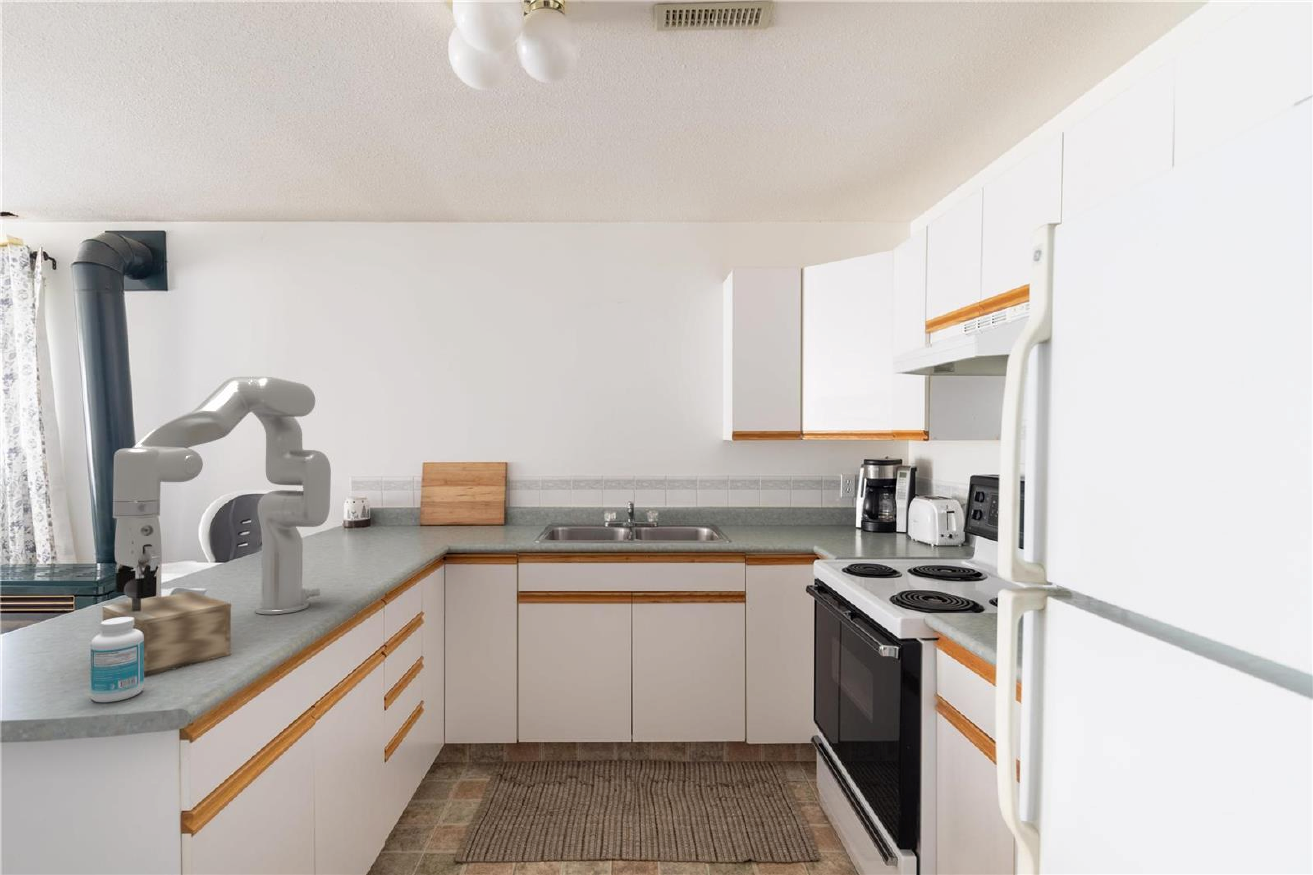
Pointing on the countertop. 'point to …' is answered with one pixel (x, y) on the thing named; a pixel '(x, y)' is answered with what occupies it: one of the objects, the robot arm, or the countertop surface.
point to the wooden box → (184, 640)
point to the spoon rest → (182, 591)
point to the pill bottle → (117, 661)
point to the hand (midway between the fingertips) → (135, 594)
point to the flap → (163, 606)
